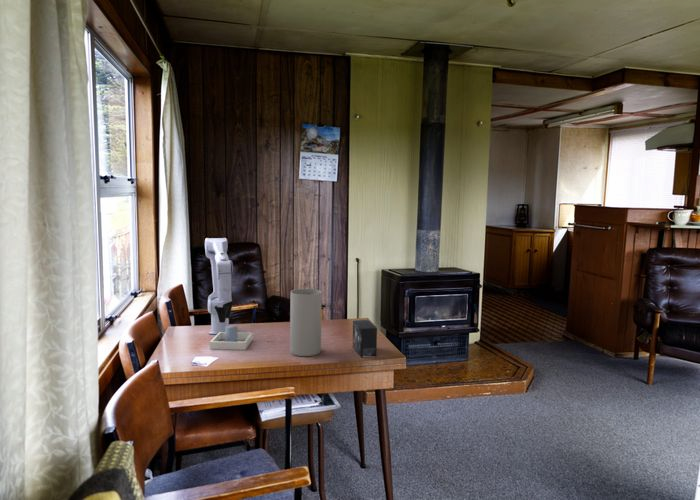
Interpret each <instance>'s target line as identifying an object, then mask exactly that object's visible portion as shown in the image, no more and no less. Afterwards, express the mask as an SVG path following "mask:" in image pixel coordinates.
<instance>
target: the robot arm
mask: <svg viewBox="0 0 700 500" xmlns="http://www.w3.org/2000/svg"><path fill="white" fill-rule="evenodd" d="M228 244H229V243H228V239H227V238H226V237H221V238H220V237H218V238H213V237H211V238H209V237H206V238H205V240H204V249H205V250H204V251H205V257H206V258H207V259H209V260H210V261H209V262H210V265H211V278H212V288H213V291H212V293H211V294H209V295H208V297H207V311H208V313H209V314H210V319H211V320H210V321H211V322H210V325H211V328H210V329H211V330H210V331H209V332H208V335H217V334H218V333H219V332H225V327H227V326H230V325H229V323H230V317H231V312H232V308H233V306H234V303H235V301H234V300H233V298H232V275H233V271H234V266H233V261H232V260H230V259H229V255H228V254H227V252H228V247H229V246H228Z"/></svg>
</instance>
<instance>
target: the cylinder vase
mask: <svg viewBox="0 0 700 500" xmlns="http://www.w3.org/2000/svg"><path fill="white" fill-rule="evenodd" d="M322 294H323V293H322V291H321V290H319V289H315V288H299V289H298V288H297V289H293V290H290V302H289V303H290V306H289V307H290V309H289V310H290V311H289V315H290V316H289V317H290V318H289V322H290V323H289V328H290V329H289V352H290V353H291V354H292V355H294V356H297V357H312V356H316V355H319V354H320V353H321V351H322V301H323V299H322V298H323V297H322Z"/></svg>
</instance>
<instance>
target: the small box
mask: <svg viewBox="0 0 700 500" xmlns="http://www.w3.org/2000/svg"><path fill="white" fill-rule="evenodd" d="M377 335H378V328H377V327H376V325H374V323H372V322H371V321H370V320H369V319H359V320H352V348H354V349H355V350H356V351H355V350H354V349H353V350H354V351H355V352H356V353H357V355H360V356H361V357H360V356H359V357H360V358H364V357H363V356H375V357H378V356H377V355H378V354H377V352H378V351H377V350H378V349H377V348H378V345H377V344H378V341H377V340H378V338H377V337H378V336H377Z"/></svg>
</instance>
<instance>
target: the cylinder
mask: <svg viewBox="0 0 700 500" xmlns="http://www.w3.org/2000/svg"><path fill="white" fill-rule="evenodd" d="M238 329H239V328H238V326H237V325H229V326H227V327H225V337H226V339H225V341H226V342H238V341H239V340H238V333H239V332H238Z"/></svg>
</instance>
